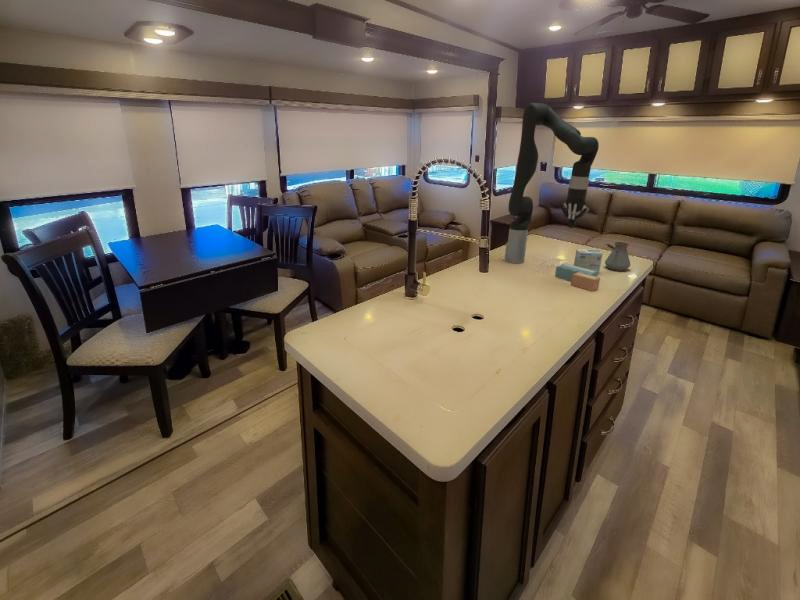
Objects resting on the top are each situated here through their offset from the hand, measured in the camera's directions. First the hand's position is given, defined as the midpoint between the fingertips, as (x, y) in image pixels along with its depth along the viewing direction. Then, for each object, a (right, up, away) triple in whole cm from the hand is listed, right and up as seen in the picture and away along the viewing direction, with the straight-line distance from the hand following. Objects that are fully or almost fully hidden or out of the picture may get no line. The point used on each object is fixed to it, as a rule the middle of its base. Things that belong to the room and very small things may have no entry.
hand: (570, 227), depth 182 cm
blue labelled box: (+6, -23, +9) cm, 25 cm away
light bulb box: (+15, -19, +19) cm, 30 cm away
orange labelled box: (+5, -26, -1) cm, 27 cm away
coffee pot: (+29, -18, +21) cm, 40 cm away
